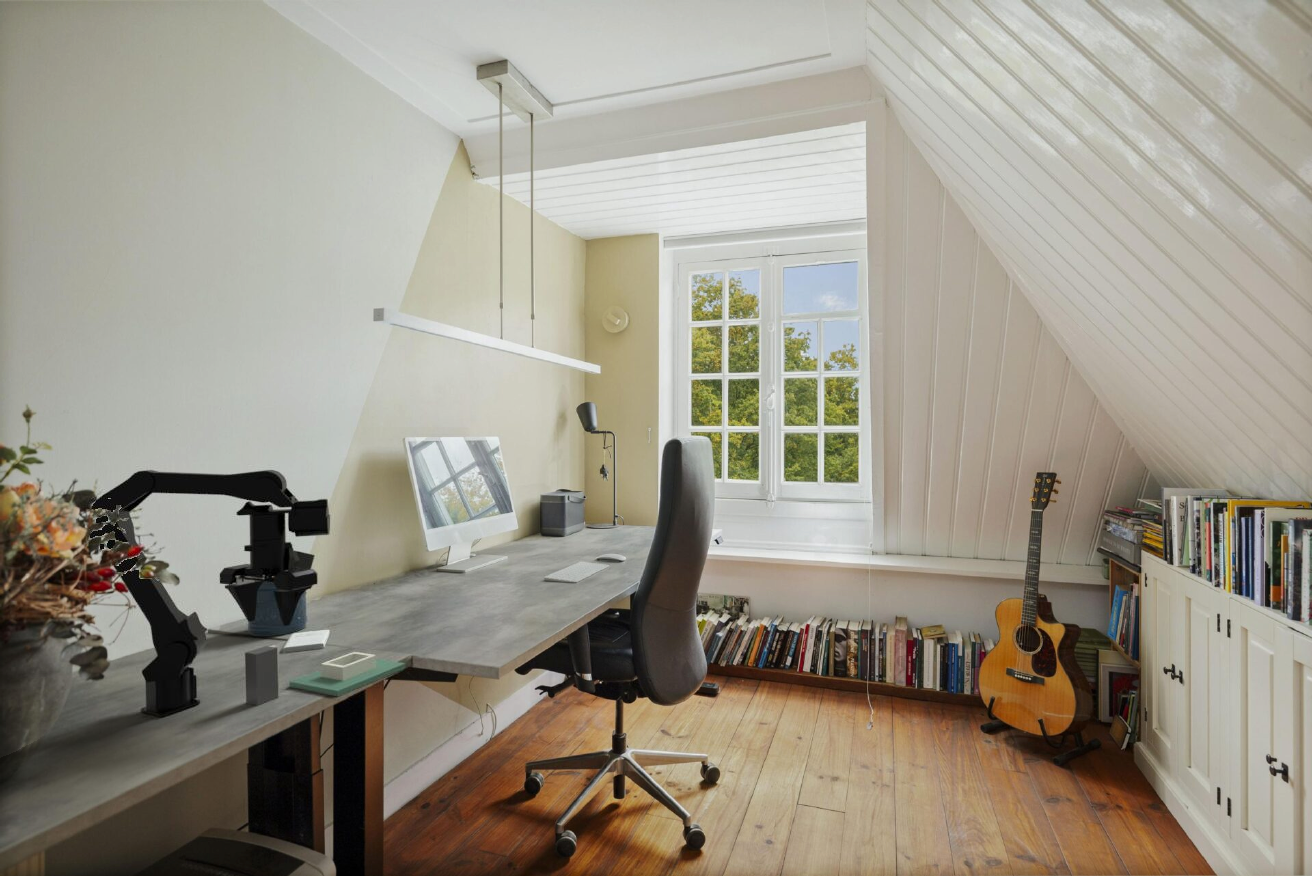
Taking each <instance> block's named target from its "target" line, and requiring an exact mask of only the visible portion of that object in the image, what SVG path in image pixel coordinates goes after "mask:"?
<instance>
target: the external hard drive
mask: <svg viewBox="0 0 1312 876" xmlns="http://www.w3.org/2000/svg"><path fill="white" fill-rule="evenodd" d="M329 636H330V630H329V629H322V630H312V631H302V632H292V633H291V634H290V636H289V637H288V639H287V641H286V643H284V645H283V648H282V653H283V654H286V653H293V652H302V651H303V652H304V651H312V650H320V649H324V648H325V647H326V644H327V641H328V639H329Z"/></svg>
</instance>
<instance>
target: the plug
mask: <svg viewBox="0 0 1312 876" xmlns="http://www.w3.org/2000/svg"><path fill="white" fill-rule="evenodd" d="M244 658H245V659H244V662H245V663H244V665H245V666H244V667H245V668H244V669H245V703H246V704H247V705H248V704H249V705H253V706H260V705H262V704H265V703H268V702H270V701H273V700H275V699H278V698H279V696H280V676H279V673H280V671H279V646H278V645H274V644H273V645H271V646H269V645H266V646H262V647H259V648H254V649H252V650H249V651H246V652H244Z"/></svg>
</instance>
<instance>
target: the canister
mask: <svg viewBox="0 0 1312 876" xmlns="http://www.w3.org/2000/svg"><path fill="white" fill-rule="evenodd" d="M287 571H288V570H287ZM263 576H265V575H263ZM272 577H274V576H272ZM276 590H280V589H277V588H276V586H275V585H274V582H267V581H264V582H263V583H262V585H261V586H260V588H259V589H258V591H257V606H256V616H255V620H254V621H251V622H249V621H248V620H247V630H248V634H249V636H252V637H274V636H282V635H287V634H293V633H296V632H298V631H300V630H303V629H305V628H306V627H307V622H308V615H307V590H306V591H305V592H304V593H303V594H302V595H301V597H300V599H299V602H298V604H297V607H296V609H295V612H294V615H293V618H292V621H291V624H290V625H288V626H283V623H282V620H281V617H280V613H279V610H278V606H277V602H276V599H275V595H274V591H276Z"/></svg>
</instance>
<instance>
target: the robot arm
mask: <svg viewBox="0 0 1312 876" xmlns="http://www.w3.org/2000/svg"><path fill="white" fill-rule="evenodd" d="M287 486H288V484H287V479H286V478H285V475H283V474H282V473H281V472H280V471H279V470H278V471H277V470H274V469H266V470H257V471H256V470H255V471H248V472H239V473H230V474H227V473H226V474H225V473H221V474H220V473H205V472H204V473H203V472H202V473H201V472H200V473H199V472H198V473H197V472H179V471H178V472H177V471H176V472H175V471H173V472H172V471H157V470H153V469H146V470H138V471H137V472H136V471H135V472H134V473H133V474H132V475H131V476H130V477H129V478H127V479H126V480H124V481H123V482H122V483H119V485H116V486H115V487H114V488H112V489H110V490H108V491H107V492H106V493H103V494H102V495H101V496H100V497H98V498H97V500H96V499H95V500H96V502H95V503H94V504H93V506H92V509H94V510H95V509H98V508H102V509H107V510H111V512H113V510H115V509H116V505H121V507H122V508H121V509H120V510H119V517H120V518H122V519H124V518H129V519H128V520H127V521H122V520H119V521H117V522H116V524H115V526H113V525H111V524H108V525H105V526H104V527H103V528H102V530H98V531H93V532H92V533H91V534H90V538H93V537H95V536H102V535H104V534H105V533H110V532H112V531H114V532H115V538H116V540H119V541H122V542H129V543H130V544H132V545H133V546H139V544H138V543H137V540H136V535H135V529H134V522H133V520H132V517H131V514H130V513H131V512H132V511H133V510H135V509H136V508H137V507H139V506H140V505H141V504H142V503H143V502H144V501H145V500H146V499H147V498H149V496H151V495H152V494H176V495H177V494H181V495H185V494H186V495H211V496H213V495H214V496H215V495H217V496H219V495H221V496H227V497H233V498H237V499H241V500H245V501H246V502H245V503H244V505H243V506H242V507H241V508H240V509H239V510H238V511H236V516H249V544H246V545H243V546H244V547H243V548H244V549H243V551H244V552H248V553H249V563H244V564H239V565H233V566H228V567H224V568H223V569H222V570H221V572H219V584H221V585H222V584H223V585H224V589H225V590H226V589H227V590H228V592H229V593H230V594H231V596H232V598H233V599H234V600H235V602H236V604H237V605H238V606H239V608H240V610H241V611H242V613H243V615H244V617H245V618H246V620H247V622H248V621H249V622H251V621H254V620H255V616H256V606H257V591H258V589H259V588H260V586H261V585H262V583H263V582H264V581H267V582H274V585H275V586H276V588H277V589H280V590H276V591H274V595H275V599H276V602H277V606H278V610H279V613H280V617H281V620H282V623H283V626H288V625H290V624H291V621H292V618H293V615H294V612H295V609H296V607H297V604H298V602H299V599H300V597H301V595H302V594H303V593H304V592H305V591H306V592H307V590H311V589H312V588H313V586H315V585H317V584H318V581H319V580H318V579H319V578H318V572H317V571H316V570H314V568H312V567H313V563H314V560H315V554H312V553H308V552H302V551H298V550H294V548H293V543H292V542H291V541H286V540H287V539H286V537H287V536H286V514H287V515H288V516H287V525H288V532H291V533H293V534H294V536H295V537H296V538H297V537H299V538H300V537H312V536H314V537H316V536H329V535H330V534H331V533H330V531H331V514H330V512H329V511H330V510H329V500H328V498H319V499H316V500H315V499H314V500H299V499H298V498H296V495H294V494H293V493H292V492H291V491H290V489H289V488H288V487H287ZM108 498H111V499H108ZM253 502H257V503H261V504H254V503H253ZM262 503H264V504H262ZM266 503H271V504H266ZM273 505H274V506H277V507H278V508H279V509H278V508H277V509H274V507H273ZM281 508H283V509H281ZM284 508H285V509H284ZM286 508H287V509H286ZM106 521H108V517H107V516H102V517H101V518H97V519H96V523H101V522H106ZM117 527H121V528H123V529H125V531H126V534H125V533H123V531H121V530H119V529H117ZM114 545H115V540H109V541H108V543H107V547H108V548H109V549H111V548H113V546H114ZM102 549H104V544H100V549H99V550H100V551H101V550H102ZM142 557H146V556H145V554H144V552H143V551H142V552H141V553H140V555H139V556H137V557H134V558H132V559H127V560H124V561H123V562H121V564H119V566H113V568H114V570H115V571H116V572H117V573H118V572H124V571H127V570H130V569H131V568H132V567H133V566H134V565H135V564H136V562H137V561H138V560H139V559H141V558H142ZM287 570H288V571H287ZM263 575H265V576H263ZM272 576H274V577H272ZM120 579H121V580H122V582H123V584H124V585H125V587H126V588H127V591H128V592H129V593H130V594H131V596H132V598H133V600H134V601H135V604H137V605H138V608H139V609H140V611H141V612H142V614H143V615H144V617H145V618H146V620H147V622H148V623H149V625H150V633H151V638H152V639H151V640H152V644H153V647H154V649H155V650H154V651H155V652H156V653H155V654H156V655H157V656H156V657H155V658H153V660H152V661H150V663H148V665H146V667H144V669H142V671H141V674H142V676H143V678H144V681H145V706H143V707H141V708H140V712H142V713H145V714H148V715H153V716H157V717H160V718H161V717H165V716H169V715H171V714H174V713H177V712H180V711H182V710H186V709H189V708H191V707H194V706H197V705H199V704H201V700H200V699H197V698H198V688H197V687H198V683H197V681H198V680H197V677H198V676H197V675H196V674H195V668H194V667H190V665H191V664H193V662H194V660H195V659H196V658H197V657H198V656H199V655H200V653H202V651H203V650H204V649H205V646H206V643H207V641H208V640H207V635H206V632H207V631H208V628H206V627H205V626H204V625H203V624H202V623H201V620H200V618H199V615H198V614H197V612H196V611H193V612H192V613H191V614H189V615H187V614H185V613H184V612H183V611H181V610H180V609H179V608H178V607H177V605H176V603H175V602H174V600H173V599H172V598H171V596H170V593H168V591H167V589H166V588H165V586H164V585H163V583H162V581H161V580H160V581H161V582H160V581H157V580H156V579H155V578H152V579H140V578H139V570H134V571H132V572H131V571H128V572H127V573H126V574H123V576H121V577H120Z"/></svg>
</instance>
